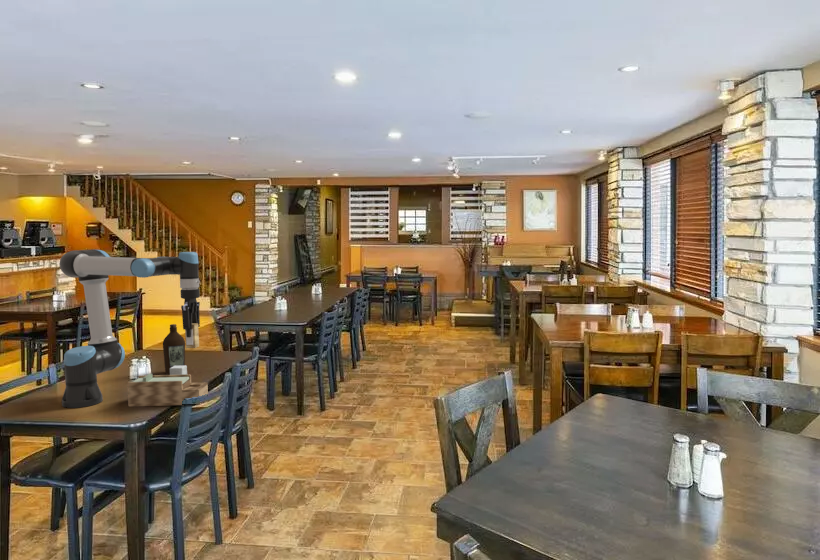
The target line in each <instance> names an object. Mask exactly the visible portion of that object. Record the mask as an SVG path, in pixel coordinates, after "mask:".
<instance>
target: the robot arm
mask: <svg viewBox="0 0 820 560" xmlns="http://www.w3.org/2000/svg"><path fill="white" fill-rule="evenodd" d="M199 263H200V262H199V256H198V253H197V252H196V251H183V252H182V251H181V252H179V253H178V256H157V257H124V256H123V257H121V256H119V257H118V256H115V257H114V256H110V255H109V254H108V253H107V252H106V251H104V250H101V249H95V248H94V249H79V250H78V249H77V250H76V249H75V250H70V251H67V252H65V253H64V254H63V255H62V256H61V257H60V259H59V263H58V264H59V268H60V271H61V272H62V274H64V275H65V276H66V277H69V278H74V279H75V278H77V279H78V283H80V284H81V285H83V289H84V290H83V291H84V297H85V303H86V304H85V305H86V312H87V318H88V327H89V333H90V340H89V341H88V342H87V345H81V346H76V347H73V348H70V349H68V350H66V351H65V353H64V354H63V365H64V366H63V367H64V368H63V369H64V379H65V389H64V392H63V395H62V398H61V406H62V407H63V408H66V407H67V409H75V408H76V409H78V408H79V409H80V408H85V407H90V406H94V405H98V404H100V403H102V402H103V400H104V399H103V393H102V390H101V389H100V387H99V384H98V377H97V376H98V374H102V373H105V372H109V371H112V370H115V369H117V368H119V367H120V366H121V365H122V364H123V363H124V360H125V356H126V352H125V348H124V346H122V344H120V343H119V342H118V338H117V337H115V336H114V335H113V329H112V322H111V316H110V315H111V314H110V306H109V305H110V304H109V299H108V293H107V286H106V282H108V280H109V276H118V277H119V276H121V277H124V276H125V277H126V276H127V277H137V278H144V279H145V278H150V277H157V276H167V275H169V276H170V275H176V276H177V275H179V288H180V298H181V299H182V300H183V299H184V301H183V304H184V305H181V306H180V308H181V315H182V316H181V317H182V319H181V320H182V329H183V330H184V331H185V330H186V338H185V346H186V345H193V329H192V323H198V328H200V327H201V326H200V325H201V324H200V323H201V321H200V320H201V319H200V305H201V303H200V301H198V300H197V299H198V298H200V296H201V292H200V291H201V290H200V289H199V287H200V283H201V280H200V277H199V272H200V271H199Z"/></svg>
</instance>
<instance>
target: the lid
mask: <svg viewBox="0 0 820 560" xmlns="http://www.w3.org/2000/svg"><path fill="white" fill-rule="evenodd" d="M146 375H147V376H145V375H144V376H145V377H143V378H138V377H137V378H135V380H133V381H132V382H153V381H182V384H183V383H185V382H186V381H187V380H189V377H159V378H153V376H152V375H153V373H148V374H146Z"/></svg>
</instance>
